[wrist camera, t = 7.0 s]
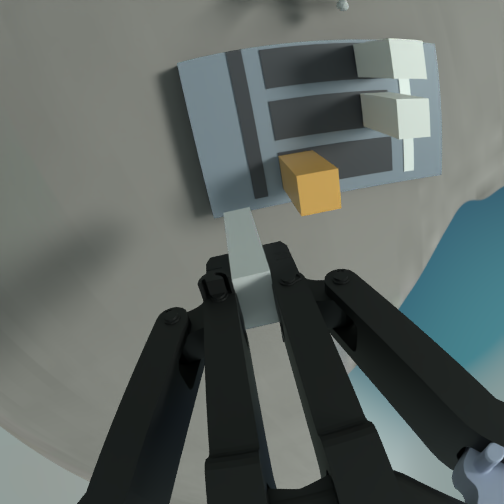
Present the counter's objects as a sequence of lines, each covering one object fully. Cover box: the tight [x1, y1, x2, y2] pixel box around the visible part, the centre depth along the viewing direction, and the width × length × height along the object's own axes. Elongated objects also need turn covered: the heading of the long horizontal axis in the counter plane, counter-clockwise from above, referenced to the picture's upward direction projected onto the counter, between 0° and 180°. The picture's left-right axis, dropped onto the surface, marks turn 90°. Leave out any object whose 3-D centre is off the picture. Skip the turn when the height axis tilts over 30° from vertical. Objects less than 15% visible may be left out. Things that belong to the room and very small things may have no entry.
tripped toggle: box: [278, 150, 341, 216], centre depth 24 cm, size 3×3×6 cm
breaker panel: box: [177, 38, 442, 218], centre depth 23 cm, size 24×14×8 cm, turn 101°
